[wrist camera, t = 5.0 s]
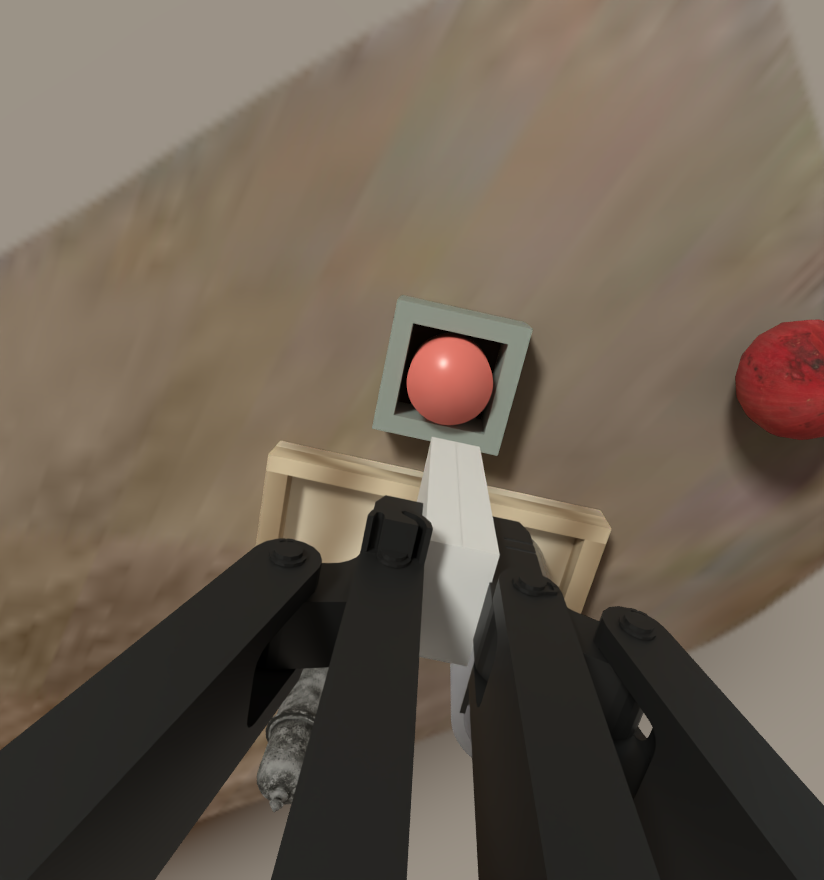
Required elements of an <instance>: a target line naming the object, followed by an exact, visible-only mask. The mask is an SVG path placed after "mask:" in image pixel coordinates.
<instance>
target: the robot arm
mask: <svg viewBox="0 0 824 880" xmlns="http://www.w3.org/2000/svg"><path fill="white" fill-rule="evenodd" d="M535 553H536V551H535V548H534V546H533V542H532V538H531V535H530V533H529V531H528V530H527V529H526V528H525V527H524V526H523V525H522V524H521V523H520V522H517V521H513V520H508V519H503V518H499V517H494V516H492V511H491V505H490V500H489V494H488V489H487V483H486V478H485V473H484V467H483V462H482V456H481V451H480V447H478V446H473V445H469V444H464V443H459V442H455V441H450V440H445V439H441V438H436V437H432V438H431V442H430V446H429V451H428V455H427V459H426V464H425V468H424V472H423V477H422V481H421V486H420V490H419V494H418V499H417V502H416V501H411V500H406V499H402V498H397V497H392V496H388V495H385V496H384V497H382V498H381V499H379V500H378V501H376V502H375V506H374V509H373V510H371V512H370V513H369V514H368V516H367V521H366V526H365V531H364V536H363V541H362V546H361V551H360V554H359V555H358V556H357V557H356V558H354V559H351V560H349V561H345V562H340V563H322V558H321V555H320V553H319V552H318V551H317V550H316V549H315V548H314V547H313V546H311V545H309V544H306V543H304V542H301V541H297V540H295V539H288V538H287V539H285V538H279V539H273V540H268V541H265V542H263V543H261V544H259V545H257V546H256V547H254V548H253V549H252V550H250V551H249V552H248V553H247V554H245V555H244V556H243V557H242V558H240V559H239V560H238V561H237V562H235V563H234V564H233V565H232V566H230V567H229V568H228V569H227V570H225V571H224V572H223V573H222V574H220V575H219V576H218V577H217V578H215V579H214V580H213V581H212V582H210V583H209V584H208V585H207V586H205V587H204V588H203V589H202V590H200V591H199V592H198V593H197V594H195V595H194V596H193V597H192V598H190V599H189V600H188V601H187V602H185V603H184V604H183V605H182V606H180V607H179V608H178V609H177V610H175V611H174V612H173V613H172V614H170V615H169V616H168V617H167V618H165V619H164V620H163V621H162V622H160V623H159V624H158V625H157V626H155V627H154V628H153V629H152V630H150V631H149V632H148V633H147V634H145V635H144V636H143V637H142V638H140V639H139V640H138V641H137V642H135V643H134V644H133V645H132V646H130V647H129V648H128V649H127V650H125V651H124V652H123V653H122V654H120V655H119V656H118V657H117V658H115V659H114V660H113V661H112V662H110V663H109V664H108V665H107V666H105V667H104V668H103V669H102V670H100V671H99V672H98V673H97V674H95V675H94V676H93V677H92V678H90V679H89V680H88V681H87V682H85V683H84V684H83V685H81V686H80V687H79V688H78V689H76V690H75V691H74V692H73V693H71V694H70V695H69V696H68V697H66V698H65V699H64V700H63V701H61V702H60V703H59V704H58V705H56V706H55V707H54V708H53V709H51V710H50V711H49V712H48V713H46V714H45V715H44V716H43V717H41V718H40V719H39V720H38V721H36V722H35V723H34V724H33V725H31V726H30V727H29V728H28V729H26V730H25V731H24V732H23V733H21V734H20V735H19V736H18V737H16V738H15V739H14V740H13V741H11V742H10V743H9V744H8V745H6V746H5V747H4V748H3V749H1V750H0V880H155V879H156V877H157V876H158V875H159V873H160V872H161V870H162V869H163V868H164V866H165V865H166V863H167V862H168V861H169V859H170V858H171V857H172V855H173V854H174V852H175V851H176V850H177V848H178V847H179V845H180V844H181V843H182V841H183V840H184V839H185V837H186V836H187V834H188V833H189V832H190V830H191V829H192V827H193V826H194V825H195V823H196V822H197V821H198V819H199V818H200V816H201V815H202V814H203V812H204V811H205V809H206V808H207V807H208V805H209V804H210V803H211V801H212V800H213V798H214V797H215V796H216V794H217V793H218V791H219V790H220V789H221V787H222V786H223V785H224V783H225V782H226V780H227V779H228V778H229V776H230V775H231V773H232V772H233V771H234V769H235V768H236V767H237V765H238V764H239V762H240V761H241V760H242V758H243V757H244V755H245V754H246V753H247V751H248V750H249V749H250V747H251V746H252V744H253V743H254V742H255V740H256V739H257V737H258V736H259V735H260V733H261V732H262V731H263V729H264V728H265V726H266V725H267V724H268V722H269V721H270V719H271V718H272V717H273V715H274V714H275V713H276V711H277V710H278V708H279V707H280V706H281V704H282V703H283V701H284V700H285V699H286V697H287V696H288V695H289V693H290V692H291V690H292V689H293V688H294V686H295V685H296V683H297V682H298V681H299V679H300V676H301V674H302V671H303V669H305V668H327V667H329V668H328V672H327V676H326V679H325V683H324V687H323V690H322V694H321V698H320V701H319V705H318V709H317V712H316V716H315V720H314V723H313V727H312V731H311V735H310V738H309V742H308V746H307V749H306V753H305V757H304V760H303V764H302V768H301V771H300V775H299V779H298V782H297V786H296V790H295V793H294V797H293V801H292V804H291V808H290V812H289V815H288V819H287V823H286V827H285V830H284V834H283V837H282V841H281V845H280V848H279V852H278V856H277V859H276V863H275V867H274V871H273V874H272V878H271V880H407V862H408V846H409V845H408V844H409V827H410V809H411V793H412V792H411V791H412V774H413V757H414V740H415V722H416V704H417V687H418V669H419V657H424V658H428V659H433V660H438V661H443V662H448V663H452V664H457V665H462V666H468V662H469V659H470V655H471V652H472V649H474V664H473V667H472V671H471V674H470V678H469V681H468V684H467V688H466V691H465V695H464V698H463V701H462V705H461V709H460V713H463V714H465V712H466V709H467V706H468V705H469V706H470V725H471V744H472V762H473V782H474V801H475V820H476V839H477V858H478V877H479V880H824V805H823V804H822V803H821V802H820V801H819V800H818V799H817V798H816V797H815V795H814V794H813V793H812V792H811V791H810V790H809V789H808V788H807V786H806V785H805V784H804V783H803V782H802V781H801V780H800V778H798V776H797V775H796V774H795V773H794V772H793V771H792V770H791V769H790V767H789V766H788V765H787V764H786V763H785V762H784V761H783V760H782V758H781V757H780V756H779V755H778V754H777V753H776V752H775V751H774V750H773V748H772V747H771V746H770V745H769V744H768V743H767V742H766V740H765V739H764V738H763V737H762V736H761V735H760V734H759V733H758V731H757V730H756V729H755V728H754V727H753V726H752V725H751V724H750V723H749V721H748V720H747V719H746V718H745V717H744V716H743V715H742V714H741V713H740V711H739V710H738V709H737V708H736V707H735V706H734V705H733V704H732V702H731V701H730V700H729V699H728V698H727V697H726V696H725V695H724V693H723V692H722V691H721V690H720V689H719V688H718V687H717V686H716V685H715V683H714V682H713V681H712V680H711V679H710V678H709V677H708V676H707V674H706V673H705V672H704V671H703V670H702V669H701V668H700V667H699V665H698V664H697V663H696V662H695V661H694V660H693V659H692V658H691V657H690V655H689V654H688V653H687V652H686V651H685V650H684V649H683V648H682V646H681V645H680V644H679V643H678V642H677V641H676V640H675V639H674V637H673V636H672V635H671V634H670V633H669V632H668V631H667V630H666V629H665V628H664V627H663V626H662V625H661V624H660V623H658V622H657V621H656V620H654V619H653V618H651V617H649V616H648V615H647V614H645V613H643V612H641V611H637V610H636V609H632V608H625V607H620V606H617V607H609V608H607V609H606V610H604V611H603V613H602V616H601V618H600V621H597V620H595V619H592V618H590V617H587V616H585V615H582V614H580V613H578V612H575V611H573V610H571V609H569V608H568V607H567V605H566V602H565V599H564V597H563V594H562V592H561V590H560V589H559V587H558V586H557V585H556V584H555V583H554V582H552V581H551V580H550V579H549V578H547V577H545V576H543V574H542V571H541V568H540V565H539V561H538V558H537V555H536V554H535ZM643 713H645V715H646V716H647V718H648V719H649V721H650V723H651V725H652V727H653V728H652V731H651V733H650V735H649V737H648V738H646V737H645V736H644V735H643V733H642V732H641V730H640V729H639V727H638V725H639V722H640V720H641V717H642V715H643Z"/></svg>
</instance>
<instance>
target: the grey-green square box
mask: <svg viewBox="0 0 824 880" xmlns="http://www.w3.org/2000/svg"><path fill="white" fill-rule="evenodd" d="M414 323H415V324H419V325H424V326H428V327H433V328H437V329H442V330H446V331H451V332H455V333H460V334H464V335H469V336H473V337H478V338H482V339H487V340H491V341H496V342H500V343H501V345H500V349H499V353H498V356H497V360H496V364H495V368H494V372H493V389H492V394H491V397H490V399H489V401H488V403H487V405H486V406H485V408H484V410H483V414H482V418H481V419H476V418H473V419H471V420H469V421H467V422H465V423H462V424H457V425H442V424H438V423H434V422H432V421H430V420H428V419H426V418H425V417H424V416H422V415H421V414H420V413H419V412H418V411H417V410H416V409H415V407H414V406H413V404H408V403H404V402H399V401H398V399H399V394H400V390H401V385H402V380H403V375H404V371H405V366H406V361H407V356H408V351H409V347H410V342H411V337H412V332H413V328H414ZM532 330H533V329H532V328H531V327H530V326H529V325H528V324H526V323H525V322H522V321H517V320H513V319H508V318H504V317H499V316H495V315H490V314H486V313H481V312H477V311H472V310H468V309H463V308H459V307H454V306H450V305H445V304H441V303H436V302H432V301H427V300H423V299H418V298H414V297H409V296H405V295H401V296H400V297H399V298H398V300H397V305H396V310H395V315H394V320H393V325H392V330H391V335H390V341H389V346H388V351H387V356H386V361H385V366H384V371H383V376H382V381H381V386H380V391H379V396H378V401H377V406H376V411H375V416H374V421H373V426H372V429H377V430H381V431H386V432H390V433H395V434H400V435H404V436H409V437H413V438H418V439H422V440H427V441H431V438H432V437H436V438H441V439H445V440H450V441H455V442H459V443H464V444H469V445H473V446H478V447H480V451H481V452H482V453H486V454H491V455H496V456H498V453H499V449H500V446H501V442H502V438H503V435H504V431H505V428H506V424H507V420H508V417H509V413H510V410H511V406H512V402H513V399H514V395H515V392H516V388H517V384H518V381H519V377H520V374H521V370H522V366H523V363H524V359H525V355H526V352H527V348H528V345H529V341H530V337H531V334H532Z"/></svg>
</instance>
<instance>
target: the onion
mask: <svg viewBox="0 0 824 880" xmlns="http://www.w3.org/2000/svg"><path fill="white" fill-rule="evenodd" d="M735 380H736V394H737V399H738V400H739V402H740V404H741V406H742V408H743V410H744V412H745V413H746V415H747V416H748V417H749V418H750V419H751V420H752V421H754V422H755V423H756V424H758V425H759V426H760V427H762V428H763V429H765V430H766V431H767V432H769V433H771V434H774V435H776V436H780V437H786V438H792V439H798V440H806V439H813V438H818V437H824V321H822V320H804V321H794V322H784V323H781V324H779V325H777V326H775V327H773V328H772V329H770V330H768V331H766V332H764V333H762V334H761V335H759V336H758V337H757V338H756V339H755V340H754V341H753V342H752V344H751V345H750V346H749V347H748V348H747V350H746V351H745V352H744V353H743V355H742V356H741V360H740V363H739V366H738V370H737V373H736V376H735Z"/></svg>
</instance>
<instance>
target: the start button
mask: <svg viewBox="0 0 824 880" xmlns="http://www.w3.org/2000/svg"><path fill="white" fill-rule="evenodd" d="M492 389H493V376H492V372H491V369H490V366H489V363H488V361H487V358H486V356H485V354H484V352H483V350H482V349H481V347H480V346H479V345H478V344H477V343H476V342H475V341H473V340H472V339H470V338H469V337H467V336H464V335H461V334H458V333H442V334H438V335H435V336H433V337H431V338H429V339H428V340H426V341H425V342H424V343H423V344H422V345H421V346H420V347H419V348H418V349H417V351H416V352H415V354H414V356H413V359H412V362H411V365H410V368H409V372H408V376H407V391H408V395H409V398H410V400H411V402H412V404H413V406H414V407H415V409H416V410H417V411H418V412H419V413H420V414H421V415H422V416H424V417H425V418H426V419H428V420H430V421H432V422H434V423H438V424H442V425H457V424H462V423H465V422H467V421H469V420H471V419H473V418H474V417H476V416H477V415H478V414H479V413H480V412H481V411H482V410H483V409H484V408H485V406H486V405H487V403H488V401H489V399H490V397H491V394H492Z"/></svg>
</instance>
